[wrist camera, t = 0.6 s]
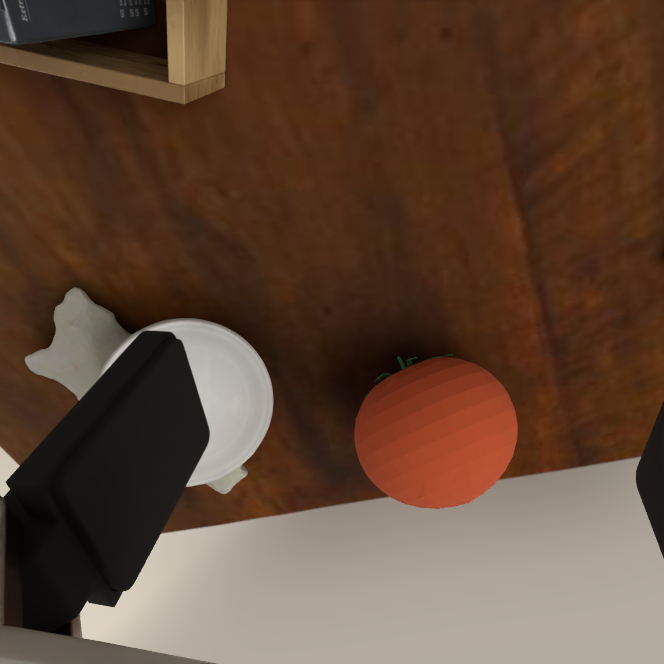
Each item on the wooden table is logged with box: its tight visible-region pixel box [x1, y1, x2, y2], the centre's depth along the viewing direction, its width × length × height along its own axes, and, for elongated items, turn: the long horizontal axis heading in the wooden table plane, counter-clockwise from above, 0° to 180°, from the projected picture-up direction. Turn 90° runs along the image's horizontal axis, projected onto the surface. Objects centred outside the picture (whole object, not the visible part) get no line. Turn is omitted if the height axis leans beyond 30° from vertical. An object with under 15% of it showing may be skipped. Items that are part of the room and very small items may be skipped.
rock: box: [25, 288, 248, 494], centre depth 39 cm, size 12×4×20 cm
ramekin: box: [98, 318, 273, 487], centre depth 34 cm, size 11×11×5 cm
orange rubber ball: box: [354, 354, 518, 509], centre depth 31 cm, size 10×10×10 cm
